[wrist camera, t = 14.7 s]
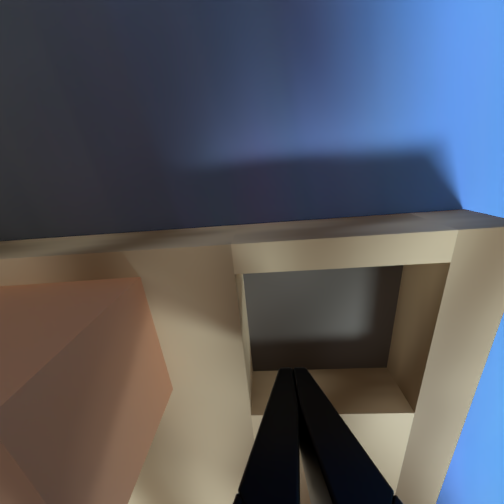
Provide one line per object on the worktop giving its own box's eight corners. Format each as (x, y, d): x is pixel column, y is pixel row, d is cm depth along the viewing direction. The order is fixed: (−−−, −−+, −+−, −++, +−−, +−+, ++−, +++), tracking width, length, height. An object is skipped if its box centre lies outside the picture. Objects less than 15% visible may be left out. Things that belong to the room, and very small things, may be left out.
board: (464, 209, 9) (700, 261, 4) (401, 468, 14) (469, 617, 10) (-228, 257, 11) (-610, 329, 6) (-44, 468, 16) (-167, 591, 12)
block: (140, 276, 8) (-15, 420, 3) (173, 389, 9) (99, 576, 5) (-2, 286, 8) (-306, 428, 4) (55, 393, 10) (-105, 571, 5)
